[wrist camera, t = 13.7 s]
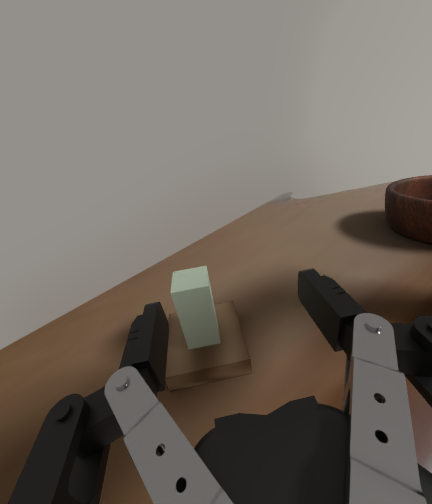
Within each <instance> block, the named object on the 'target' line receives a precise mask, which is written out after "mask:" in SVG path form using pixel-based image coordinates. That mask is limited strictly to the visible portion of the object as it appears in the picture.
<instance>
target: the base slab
mask: <svg viewBox="0 0 432 504" xmlns="http://www.w3.org/2000/svg"><path fill="white" fill-rule="evenodd" d="M214 306H215V311H216V316H217V321H218V328H219V335H220V341H221V343H220V344H215V345H209V346H204V347H199V348H194V349H188V346H187V343H186V340H185V337H184V334H183V330H182V327H181V324H180V321H179V318H178V315H177V313H173V314H169V322H168V324H169V339H168V352H167V364H166V377H165V382H166V384H167V386H168V389H169V391H174V390H179V389H183V388H187V387H192V386H196V385H201V384H205V383H210V382H214V381H219V380H223V379H228V378H232V377H237V376H241V375H246V374H250V373H252V368H251V360H250V356H249V353H248V349H247V346H246V343H245V339H244V336H243V333H242V329H241V326H240V323H239V319H238V316H237V313H236V309H235V306H234V303H233V301H231V302H226V303H221V304H216V305H214Z"/></svg>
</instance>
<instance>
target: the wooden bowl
mask: <svg viewBox="0 0 432 504" xmlns="http://www.w3.org/2000/svg"><path fill="white" fill-rule="evenodd" d="M385 213H386V217H387V220H388V222H389V224H390V226H391V227H392V228H393V229H394V230H395V231H397V232H398V233H400V234H402V235H404V236H406V237H409V238H412V239H415V240H418V241H422V242H427V243H431V244H432V175H429V176H419V177H412V178H406V179H402V180H398V181H395V182H393V183H391V184H389V185H388V186H387V188H386V193H385Z"/></svg>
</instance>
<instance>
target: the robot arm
mask: <svg viewBox="0 0 432 504" xmlns="http://www.w3.org/2000/svg"><path fill="white" fill-rule="evenodd" d="M298 296H299V299H300V301H301V303H302V305H303V306H304V307H305V309H306V310H307V312H308V313H309V315H310V316H311V318H312V319H313V321H314V322H315V323H316V325H317V326H318V328H319V329H320V331H321V332H322V334H323V335H324V337H325V338H326V339H327V341H328V342H329V344H330V345H331V347H332V348H333V350H334V351H335V352H336V351H341V350H344V352H345V353H346V354H347V356H346V365H345V378H344V392H343V400H342V407H341V410H339V409H337V408H335V407H332V406H329V405H324V404H318V403H317V401H316V399H315V397H314V396H310V397H306V398H302V399H298V400H293V401H290V402H288V403H286V404H285V405H283V406H281V407H280V408H278V409H276V410H275V411H273V412H271V413H270V414H268V415H257V414H243V413H238V414H234V415H229V416H225V417H221V418H217V419H215V428H213V429H212V430H210V431H209V432H208V433H207V434H205V435H204V437H203V438H202V439H201V440H200V441H199V442H198V444H197V445H196V446H195V448H193V447H192V446H191V444H190V443H189V441H188V440H187V439H186V437H185V436H184V434H183V433H182V432H181V430H180V429H179V427H178V426H177V425H176V423H175V422H174V420H173V419H172V418H171V416H170V415H169V413H168V412H167V410H166V409H165V408H164V406H163V405H162V404H161V402H160V401H159V400H158V399H157V398H156V397H157V392H158V391H163V390H164V389H165V377H166V364H167V352H168V339H169V324H168V320H167V318H166V315H165V313H164V310H163V308H162V305H161V303H160V302H155V303H150V304H146V305H145V307H144V312H143V315H139V316H137V317H136V319H135V320H134V321H133V323H132V325H131V328H130V332H129V333H130V334H129V335H128V339H127V340H128V341H127V343H126V346H125V350H124V353H123V357H122V360H121V364H120V367H119V370H118V371H116V372H115V373H114V374H113V375H112V376H111V377H110V378H109V380H108V381H107V383H106V386H105V387H103V388H102V389H100V390H98V391H96V392H94V393H92V394H91V395H89V396H87V397H85V398H83V397H82V396H81V395H79V394H71V395H68V396H66V397H64V398H63V399H61V400H60V401H59V402H58V403H57V404H55V405H54V407H53V408H52V409H51V410H50V411H49V413H48V415H47V416H46V418H45V421H44V423H43V425H42V427H41V430H40V432H39V434H38V436H37V439H36V441H35V443H34V446H33V448H32V450H31V452H30V455H29V457H28V459H27V461H26V464H25V466H24V468H23V470H22V473H21V475H20V477H19V479H18V482H17V484H16V486H15V488H14V491H13V493H12V495H11V498H10V500H9V502H8V504H99V500H100V495H101V490H102V485H103V480H104V474H105V469H106V464H107V459H108V454H109V449H110V444H111V442H113V441H115V440H116V439H118V438H119V437H121V436H123V435H124V437H123V439H124V442H125V444H126V446H127V448H128V451H129V453H130V455H131V457H132V459H133V461H134V463H135V465H136V467H137V470H138V472H139V474H140V476H141V478H142V480H143V482H144V484H145V487H146V489H147V491H148V493H149V495H150V497H151V499H152V501H153V503H154V504H432V473H430V472H429V471H428V470H426V469H425V468H423V467H422V466H421V465H419V464H418V463H417V458H416V451H415V443H414V436H413V429H412V422H411V415H410V408H409V401H408V394H407V387H406V380H405V376H406V377H407V378H408V380H409V381H410V382H411V383H412V384H413V386H414V387H415V388H416V389H417V390H418V392H419V393H420V394H421V395H422V396H423V398H424V399H425V400H426V401H427V402H428V404H429V405H430V406H431V407H432V316H427V315H423V316H418V317H416V318H415V320H414V322H413V324H398V323H389V322H388V321H387V320H386V319H384V318H382V317H380V316H378V315H375V314H371V313H367V312H366V311H365V310H364V309H363V308H362V307H361V306H360V305H359V304H358V303H357V302H356V301H355V300H354V299H353V298H352V297H351V296H350V295H349V294H348V293H346V291H345V290H344V289H343V288H341V287H340V286H339V285H338V284H337V283H336V282H335V281H334V280H333V279H331V278H329V277H327V276H325V275H323V276H320V275H319V274H318V273H317V272H316V271H315V270H314V269H308V270H303V271H299V273H298ZM404 375H405V376H404Z"/></svg>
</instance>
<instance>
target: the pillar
mask: <svg viewBox="0 0 432 504" xmlns="http://www.w3.org/2000/svg"><path fill="white" fill-rule="evenodd" d="M171 296H172V299H173V302H174V306H175V309H176V312H177V315H178V318H179V321H180V324H181V327H182V330H183V334H184V337H185V340H186V343H187V346H188V349H194V348H199V347H204V346H209V345H215V344H220V343H221V341H220V335H219V328H218V321H217V316H216V311H215V306H214V301H213V296H212V291H211V286H210V281H209V277H208V272H207V267H206V266H202V267H197V268H191V269H186V270H180V271H175V272H173V277H172V285H171Z"/></svg>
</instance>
